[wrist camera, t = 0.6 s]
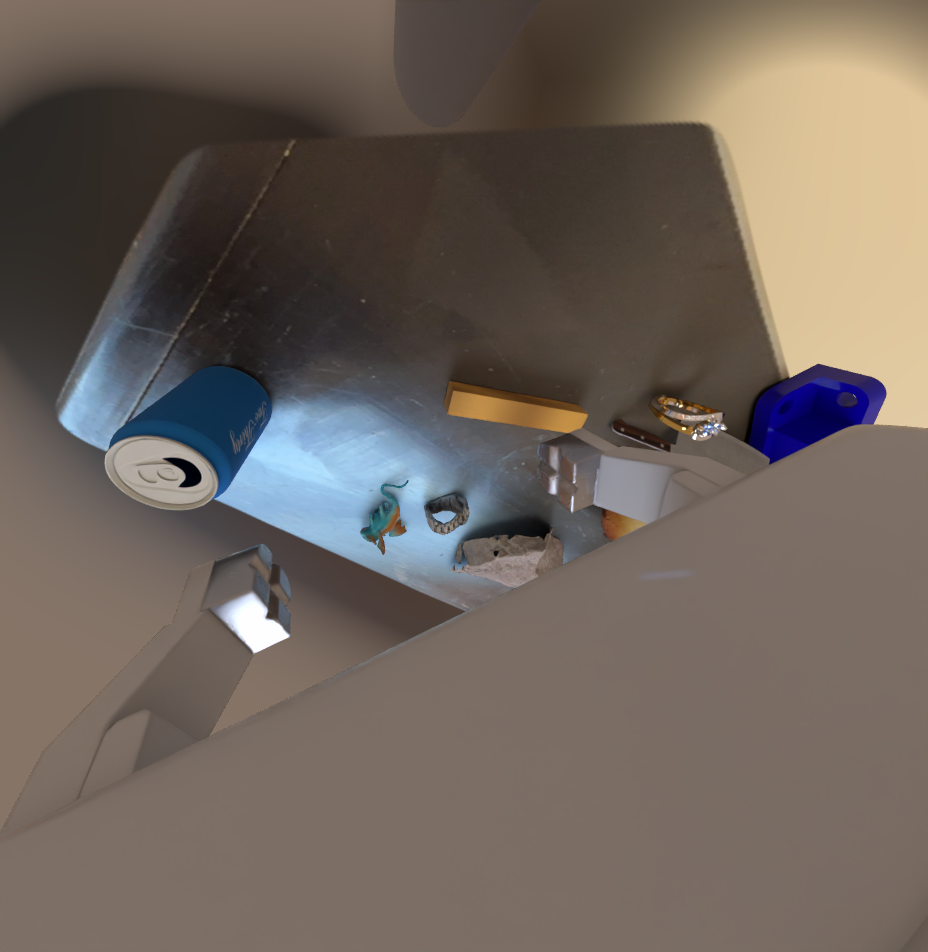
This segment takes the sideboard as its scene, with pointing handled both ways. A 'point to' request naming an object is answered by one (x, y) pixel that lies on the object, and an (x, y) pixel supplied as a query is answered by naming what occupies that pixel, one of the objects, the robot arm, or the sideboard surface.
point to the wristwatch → (447, 504)
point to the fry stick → (512, 408)
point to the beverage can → (190, 440)
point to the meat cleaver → (701, 447)
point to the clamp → (813, 409)
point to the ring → (688, 417)
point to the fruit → (618, 524)
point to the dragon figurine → (384, 522)
